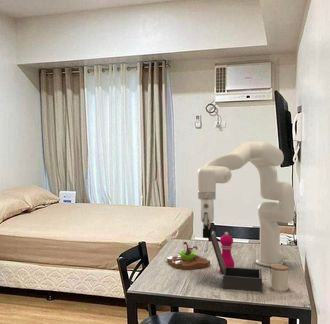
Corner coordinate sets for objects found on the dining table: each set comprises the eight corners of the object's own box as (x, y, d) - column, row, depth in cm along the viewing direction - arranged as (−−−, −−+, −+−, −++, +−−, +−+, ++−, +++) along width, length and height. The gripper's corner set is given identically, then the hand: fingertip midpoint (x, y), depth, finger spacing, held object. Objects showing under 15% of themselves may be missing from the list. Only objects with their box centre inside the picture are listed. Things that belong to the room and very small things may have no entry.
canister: (281, 286, 208) (282, 264, 207) (291, 291, 201) (291, 268, 200) (267, 288, 206) (268, 265, 206) (277, 293, 200) (277, 269, 199)
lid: (214, 230, 218) (212, 231, 218) (212, 237, 204) (210, 237, 205) (225, 265, 217) (223, 265, 218) (223, 274, 204) (222, 275, 204)
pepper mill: (232, 276, 224) (232, 233, 223) (216, 274, 228) (216, 232, 226) (236, 272, 230) (236, 231, 229) (221, 270, 234) (221, 229, 233)
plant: (193, 257, 259) (193, 236, 258) (215, 266, 241) (215, 244, 240) (160, 261, 252) (160, 240, 251) (181, 271, 233) (181, 248, 233)
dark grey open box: (261, 283, 213) (261, 269, 213) (261, 293, 199) (262, 278, 199) (224, 280, 218) (224, 266, 218) (222, 290, 204) (222, 275, 204)
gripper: (214, 198, 202) (214, 241, 203) (216, 193, 217) (216, 233, 219) (196, 197, 205) (196, 240, 206) (199, 193, 220) (199, 233, 221)
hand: (206, 236), depth 212 cm, fingers closed
